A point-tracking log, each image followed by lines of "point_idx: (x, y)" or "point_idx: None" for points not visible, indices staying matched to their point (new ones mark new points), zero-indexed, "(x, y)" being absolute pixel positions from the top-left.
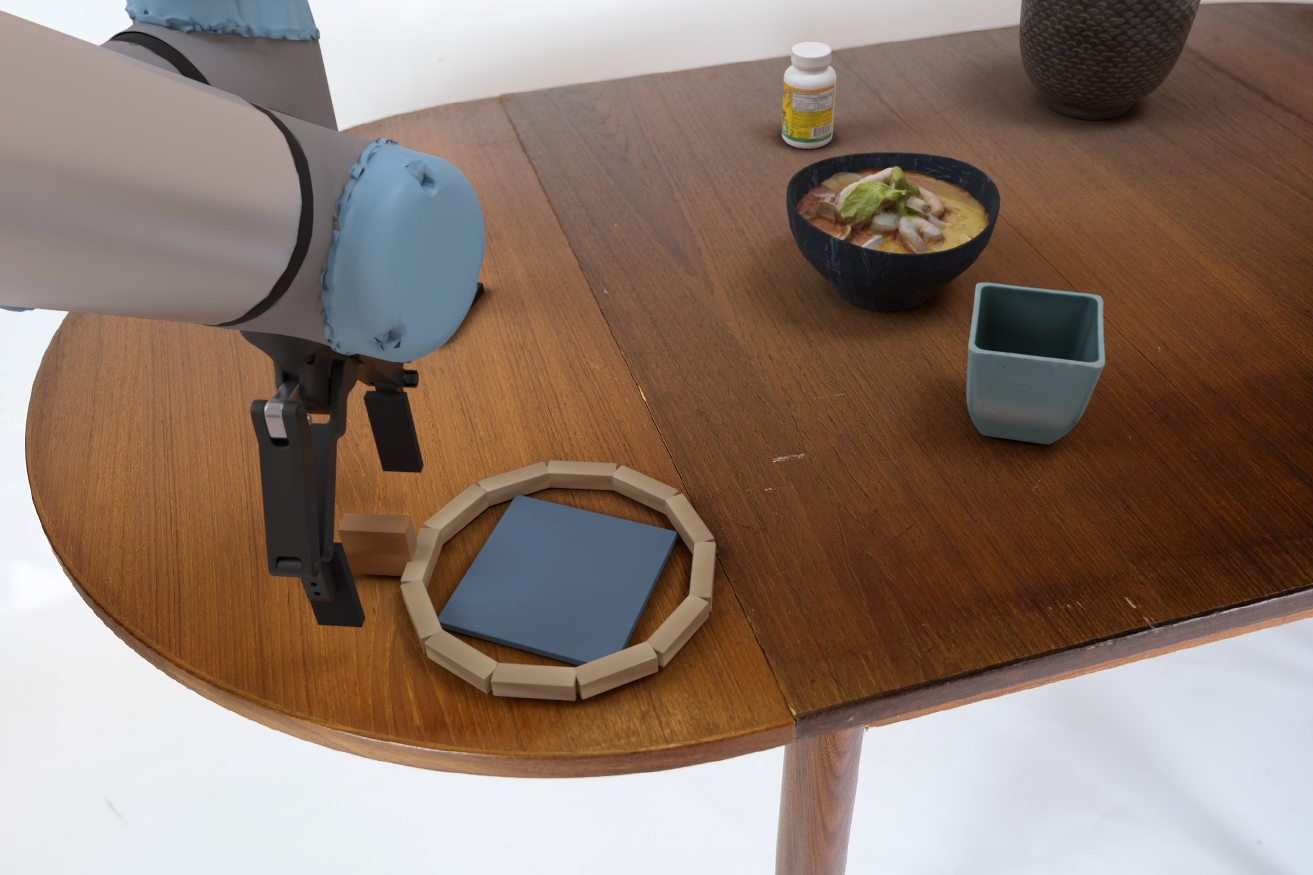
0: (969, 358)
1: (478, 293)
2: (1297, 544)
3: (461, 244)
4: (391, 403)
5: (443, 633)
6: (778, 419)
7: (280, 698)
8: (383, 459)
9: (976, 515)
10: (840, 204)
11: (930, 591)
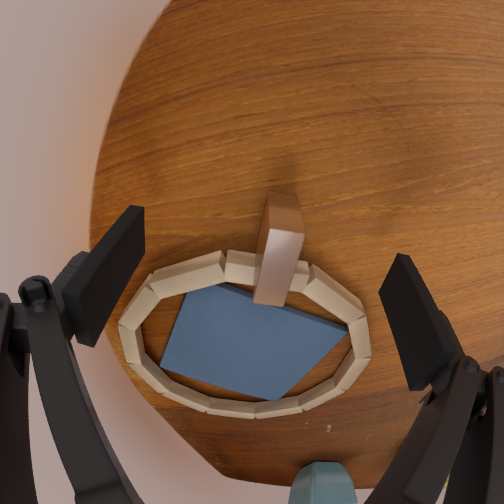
0: (312, 501)
1: None
2: (241, 480)
3: None
4: (417, 371)
5: (156, 300)
6: (361, 426)
7: (108, 140)
8: (401, 270)
9: (267, 455)
10: (449, 474)
11: (224, 443)
